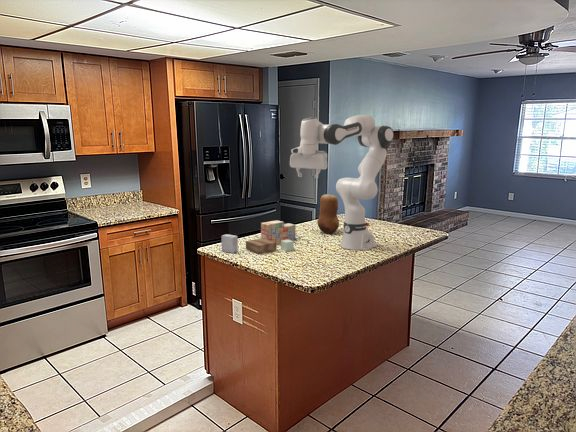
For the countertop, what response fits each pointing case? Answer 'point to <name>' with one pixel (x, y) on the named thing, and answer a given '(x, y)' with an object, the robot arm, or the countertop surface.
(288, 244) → the sage cube
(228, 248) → the medicine box
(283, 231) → the stack of blocks
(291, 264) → the countertop surface
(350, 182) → the robot arm
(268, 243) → the walnut block
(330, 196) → the butternut squash
